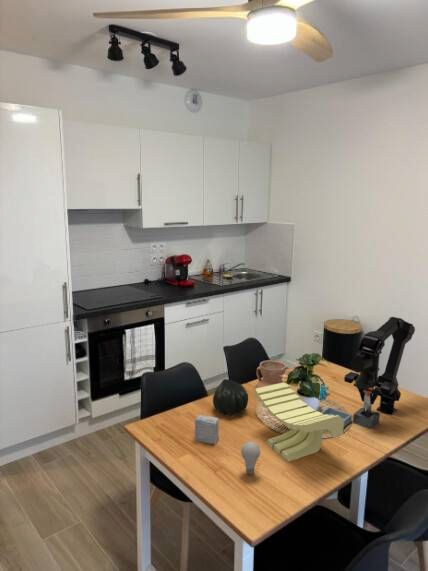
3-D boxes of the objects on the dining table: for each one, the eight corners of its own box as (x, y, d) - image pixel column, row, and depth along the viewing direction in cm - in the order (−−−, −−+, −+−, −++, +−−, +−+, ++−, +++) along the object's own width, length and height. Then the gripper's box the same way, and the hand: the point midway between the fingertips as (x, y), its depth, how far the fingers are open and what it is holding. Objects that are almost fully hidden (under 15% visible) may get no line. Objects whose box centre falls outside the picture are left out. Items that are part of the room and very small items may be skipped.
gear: (312, 398, 189) (306, 377, 195) (305, 403, 194) (300, 382, 199) (333, 398, 193) (327, 377, 198) (326, 403, 197) (320, 382, 203)
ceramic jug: (296, 395, 195) (297, 366, 193) (274, 404, 186) (275, 373, 184) (268, 383, 209) (269, 356, 207) (246, 391, 200) (247, 362, 198)
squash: (259, 403, 175) (243, 370, 181) (231, 415, 167) (215, 380, 172) (243, 414, 186) (228, 383, 191) (215, 426, 177) (201, 392, 182)
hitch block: (360, 416, 177) (361, 407, 176) (379, 422, 172) (379, 413, 171) (353, 422, 171) (353, 413, 171) (371, 429, 166) (372, 420, 166)
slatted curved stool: (340, 462, 145) (344, 413, 142) (303, 475, 138) (306, 424, 134) (287, 422, 171) (289, 381, 168) (253, 431, 164) (255, 388, 161)
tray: (328, 413, 179) (328, 406, 178) (351, 421, 172) (351, 414, 172) (316, 422, 171) (316, 415, 171) (339, 431, 165) (340, 424, 164)
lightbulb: (239, 468, 141) (240, 438, 139) (257, 467, 141) (258, 437, 139) (242, 480, 135) (242, 448, 133) (261, 479, 135) (262, 447, 133)
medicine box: (218, 439, 158) (219, 417, 157) (214, 445, 154) (215, 423, 153) (199, 435, 161) (199, 414, 159) (194, 441, 157) (194, 419, 155)
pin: (363, 410, 174) (365, 385, 172) (374, 414, 171) (376, 388, 169) (359, 414, 171) (361, 388, 169) (369, 418, 168) (372, 392, 166)
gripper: (339, 365, 167) (336, 402, 170) (386, 378, 155) (383, 417, 158) (351, 358, 175) (348, 393, 178) (397, 369, 163) (394, 407, 166)
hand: (367, 402), depth 170 cm, fingers closed on pin, 3 cm apart
